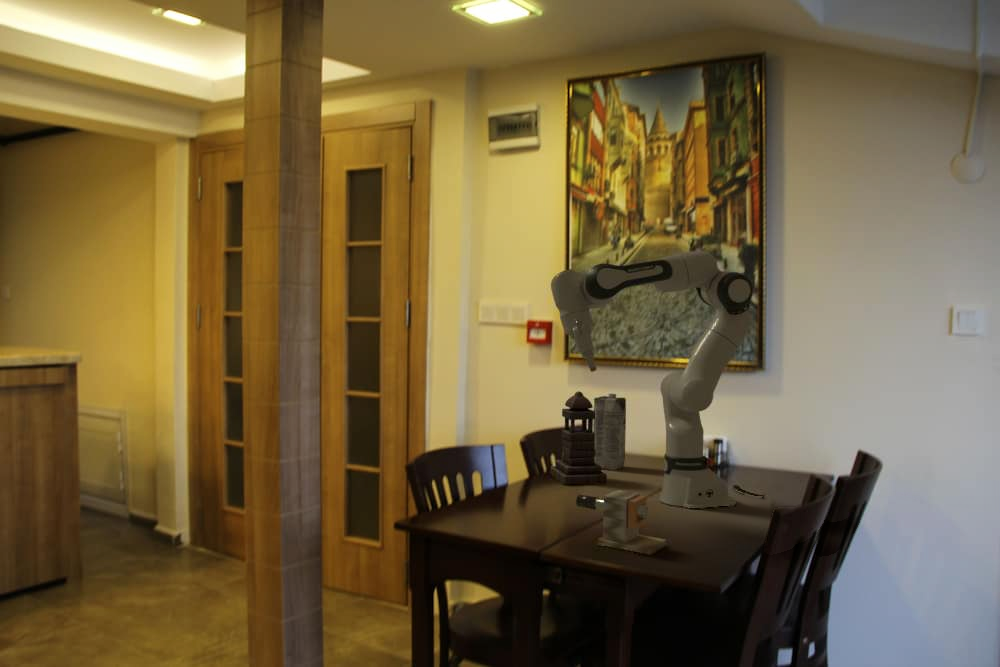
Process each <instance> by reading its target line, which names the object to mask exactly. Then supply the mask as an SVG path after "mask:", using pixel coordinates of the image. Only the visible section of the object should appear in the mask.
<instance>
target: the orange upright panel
mask: <svg viewBox="0 0 1000 667" xmlns="http://www.w3.org/2000/svg"><path fill="white" fill-rule="evenodd" d="M640 505H643V506H647V496H645V495H640V496H639V497H636V498H634V499H632V500H630V501H629V505H628V530H633V531H634V530H636V529H638V528H639V529H640V528H641V527H644V526H646V525H647V517H646V518H644V517H639V516H638V519H637V507H638V506H640Z"/></svg>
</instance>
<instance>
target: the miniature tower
mask: <svg viewBox="0 0 1000 667" xmlns="http://www.w3.org/2000/svg"><path fill="white" fill-rule="evenodd" d="M564 406H565V407H568V408H562V409H561V413H562V414H561V417H562V418H564V429H561V438H562V440H561V441H562V443H561V445H562V451H561V452H562V455H561V457H562V458H561V459H556V460H555V465H554V466H553V465H551V466H550V468H549V469H550V470H549V471H550V472H549V473H550V476H551V475H552V477H553V478H554V479H555V480H557V481H558V482H560V483H561V484H562V485H563V486H576V485H575V484H584V485H596V484H595V483H598V484H599V483H606V484H607V482H608V481H607V479H608V478H607V477H608V475H607V474H606V473H605V472H603V471H602V469H601V466H600V465H598V464H596V463H595V458H594V457H595V451H596V450H595V442H594V440H595V433H594V432H593V423H594V419H595V411H594V405H593V404H592V402H591V401H590V400H589V398H587V397H586V396H585V395H584V394H583V392H582V391H580V390H579V391H576V392H575V393H574V395H572V396H570V397H569V398H568V399H567V400H566V401H565V404H564ZM577 420H579V421H581V428H579V429H578V428H577V429H576V428H575V427H576V426H575V424H576V423H575V422H576V421H577ZM572 484H573V485H572Z"/></svg>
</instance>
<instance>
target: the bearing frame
mask: <svg viewBox="0 0 1000 667" xmlns="http://www.w3.org/2000/svg"><path fill="white" fill-rule="evenodd" d="M639 496H641V495H640V493H639V492H633V491H627V490H621V489H620V490H619V489H617V490H615V491H612V492H610V493H608V494H607V493H606V494H605V495H603V499H604V505H603V510H602V511H603V516H602V517H603V518H602V520H603V521H602V536H601V537H599V538H597V546H598V545H601V546H600V547H603V546H608V547H613V548H619V549H624V550H630V551H635V552H640V553H646V554H651V553H653V552H654V551H656V550H658V549H660V548H661V547H662V546H664V545H666V546H667V539H665V538H659V537H654V536H650V535H649V536H647V535H644V534H640V528H638V529H636V530H634V531H633V530H628V505H629V501H630V500H632V499H634V498H636V497H639ZM637 519H638V516H637ZM608 547H607V548H608ZM613 548H612V549H613ZM660 550H661V549H660Z"/></svg>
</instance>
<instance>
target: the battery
mask: <svg viewBox="0 0 1000 667" xmlns="http://www.w3.org/2000/svg"><path fill="white" fill-rule="evenodd" d="M626 401H627V399H626V397H617V394H616V393H608V395H607V396H606V395H603V396H598V397H595V398H594V399H593V411H595V419H593V432H594V433H595V440H594V442H595V450H596V451H595V457H594V458H595V463H596V464H598V465H600V466H601V468H605V469H604V470H606V469H612V470H611V471H614V470H615V471H617V470H616V469H618V468H620V469H622V468H621V467H623V468H624V465H625V459H626V435H627V434H626V426H627V425H626V424H627V423H626V422H627V403H626ZM618 470H619V469H618Z"/></svg>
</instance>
